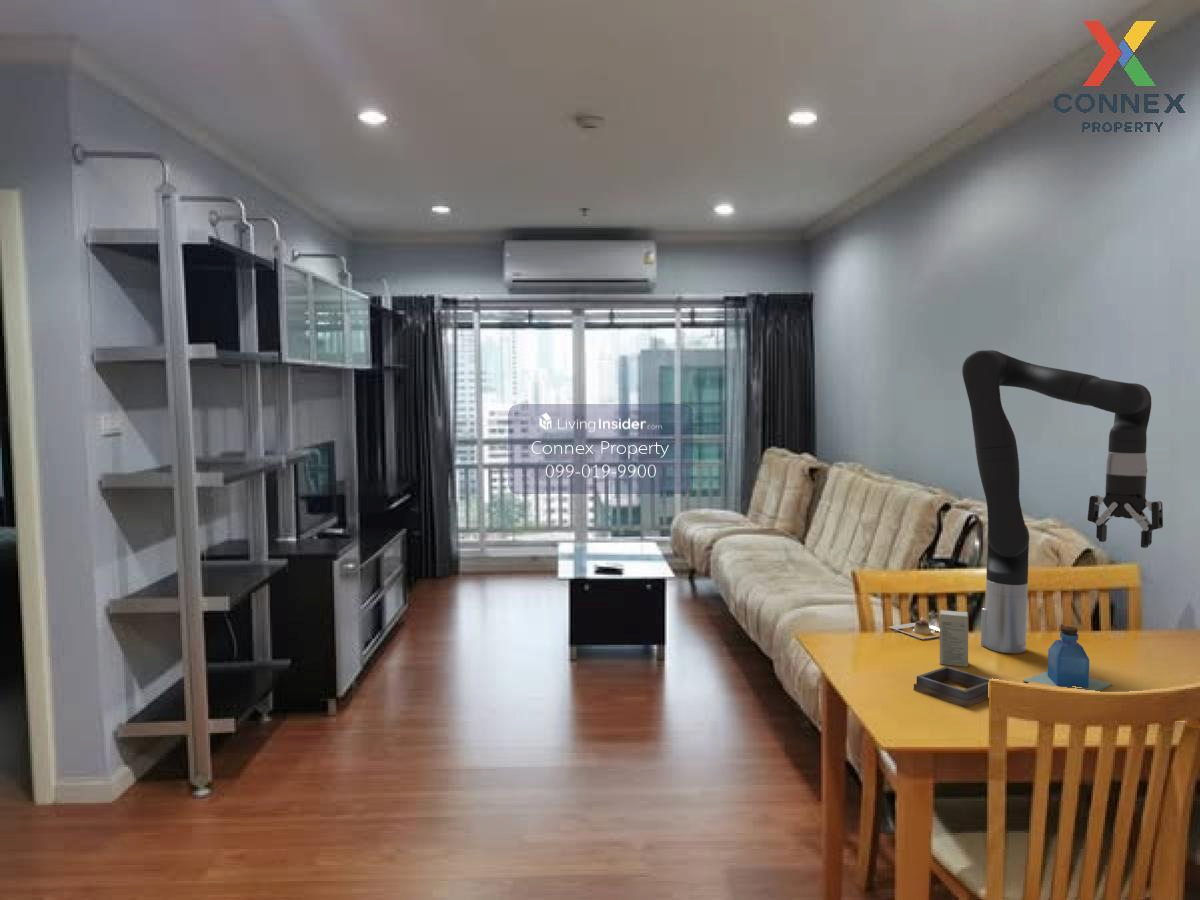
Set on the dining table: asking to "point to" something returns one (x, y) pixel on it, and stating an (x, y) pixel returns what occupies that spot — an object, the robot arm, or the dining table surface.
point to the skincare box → (954, 638)
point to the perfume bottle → (1068, 660)
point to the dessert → (918, 628)
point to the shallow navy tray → (935, 687)
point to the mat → (1044, 679)
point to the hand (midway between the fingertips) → (1123, 544)
